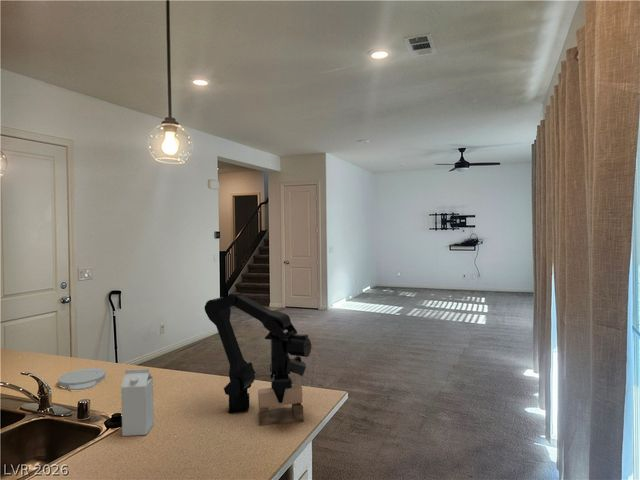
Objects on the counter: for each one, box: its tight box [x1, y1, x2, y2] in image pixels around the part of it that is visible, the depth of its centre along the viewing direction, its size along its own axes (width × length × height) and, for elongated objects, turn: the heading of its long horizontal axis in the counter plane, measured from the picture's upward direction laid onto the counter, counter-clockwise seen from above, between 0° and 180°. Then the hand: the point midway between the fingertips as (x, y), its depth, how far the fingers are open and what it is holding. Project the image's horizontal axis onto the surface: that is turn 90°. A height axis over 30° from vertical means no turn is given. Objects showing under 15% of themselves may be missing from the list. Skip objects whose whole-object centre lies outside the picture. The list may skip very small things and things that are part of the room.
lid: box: [57, 367, 107, 391], centre depth 169 cm, size 17×20×3 cm
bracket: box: [258, 403, 305, 426], centre depth 136 cm, size 14×9×5 cm, turn 99°
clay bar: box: [257, 383, 303, 409], centre depth 136 cm, size 14×4×5 cm, turn 106°
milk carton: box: [120, 368, 155, 437], centre depth 128 cm, size 7×7×19 cm
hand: (280, 400), depth 136 cm, fingers closed on clay bar, 4 cm apart
